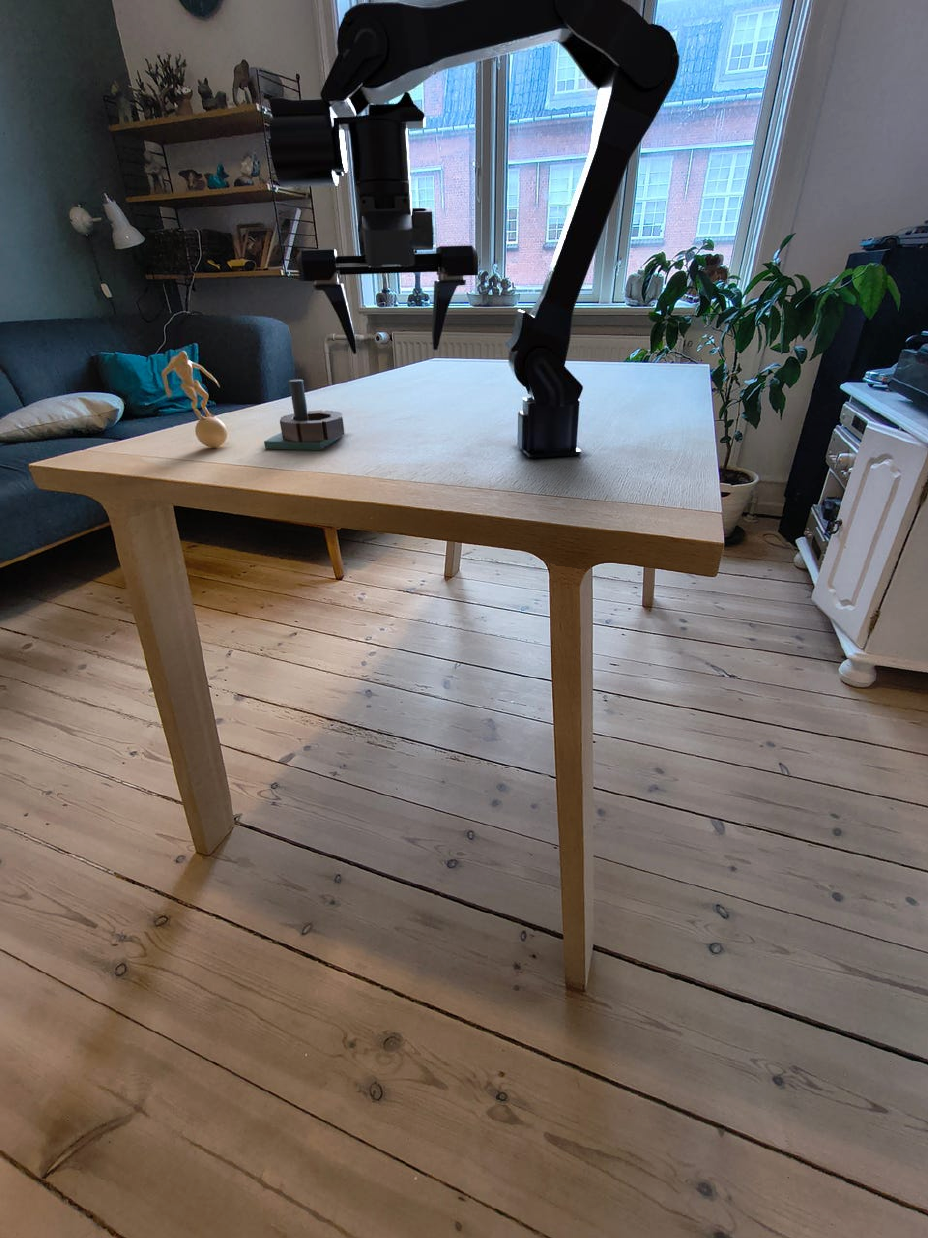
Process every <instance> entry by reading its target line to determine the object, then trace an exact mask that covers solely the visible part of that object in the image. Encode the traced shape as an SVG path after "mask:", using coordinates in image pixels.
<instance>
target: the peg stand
mask: <svg viewBox="0 0 928 1238" xmlns="http://www.w3.org/2000/svg"><path fill="white" fill-rule="evenodd" d="M288 385H289V391H290V399H291V404H292V410H293V414H294V416H295V420H298V421H309V418H308V412H307V411H308V406H307V405H308V404H307V400H306V399H307V398H306V392H305V386H304V380H303V379H290V380H288ZM342 437H343V436H341V437H337V438H334V439H331V440H324V441H317V442H302V441H301V442H294V441H288V440H284V439H283V437H282V432H280V433H278V434H276V435H274V436H271V437H270V438H268V439H266V440H264V441H263V445H264V448H265V450H266V449H267V450H300V451H302V450H303V451H304V450H305V451H322V450H324V449H325V448H327V447H328V446H329V445H331V444H332V443H334V442H336V441H338V440H339V439H341V438H342Z"/></svg>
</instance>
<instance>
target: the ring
mask: <svg viewBox="0 0 928 1238" xmlns="http://www.w3.org/2000/svg"><path fill="white" fill-rule="evenodd" d="M307 412H308V418H309V421H298V420H295V416H294V413H290V414H286V415H283V416H281V417H280V419H279V425H280V432H281V433H282V437H283V439H284V440H288V441H294V442H301V441H302V442H317V441H324V440H331V439H334V438H337V437H341V436H342V437H344V436H345V434H346V433H345V424H344V417H343V416H344V415H343V413H342V412H340V411H334V410H333V411H332V410H309V411H308V410H307ZM342 437H341V438H342Z"/></svg>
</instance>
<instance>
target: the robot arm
mask: <svg viewBox="0 0 928 1238" xmlns="http://www.w3.org/2000/svg"><path fill="white" fill-rule="evenodd" d="M552 43H558V44H559V45H560V46H561V47H562V48H563V49H564V50H565V51H566V52H567V53H568V55H569V56H570V57H571V60H573V62H574V63H575V65H576V67H578V69H579V70H580V71H581V73H582V75H583V76H584V77H585V78H586V80H587V81H588V82H589V83H590V84H591V85H592V86H593V87H594V88H595V89H596V90H597V91H598V94H597V99H596V103H595V104H596V105H595V109H594V114H593V123H592V131H591V140H590V147H589V152H588V155H587V158H586V161H585V164H584V167H583V170H582V172H581V176H580V178H579V182H578V184H577V188H576V191H575V193H574V196H573V198H572V202H571V205H570V207H569V210H568V213H567V217H566V219H565V221H564V225H563V228H562V231H561V234H560V236H559V239H558V242H557V245H556V248H555V250H554V254H553V257H552V259H551V263H550V265H549V268H548V271H547V274H546V276H545V280H544V282H543V285H542V289H541V291H540V294H539V296H538V298H537V300H536V302H535V304H533V307H531V309H530V311H529V312H528V313H527V312H526V311H524V310H521V309H518V310H517V312H516V316H515V321H514V326H513V327H514V328H513V331H512V334H511V336H510V337H509V339H508V340H507V341H506V342H505V346H506V348H507V349H508V350H509V351H508V352H509V353H508V357H507V358H508V366H509V367H510V370H511V372H512V375H514V377H515V379H516V380H517V382H519V383H520V385H521V386H522V387H524V388H525V390H526V393H527V394H528V395H529V396H530V397H522V410H521V411H518V413H517V447H518V448H519V449H520V450H521V451H522V452H523V453H524V455H526V457H527V458H529V459H540V458H553V457H569V456H580V455H582V450H581V449H580V448H579V447H577V446H578V434H579V433H578V432H579V417H580V403H581V400H580V397H581V395H582V392H583V389H584V386H583V384H582V383H581V382H580V381H579V380H578V379H577V378H576V377H575V376H574V374H573V373H572V372H571V371H570V370H569V369H568V368H567V367H566V361H567V357H568V352H569V348H570V343H571V338H572V337H571V335H572V328H573V327H572V326H573V316H574V310H575V306H576V304H577V302H578V299H579V296H580V293H581V291H582V287H583V285H584V282H585V279H586V277H587V275H588V272H589V269H590V266H591V264H592V261H593V258H594V257H595V253H596V250H597V248H598V246H599V243H600V240H601V237H602V234H603V232H604V229H605V226H606V224H607V221H608V218H609V216H610V213H611V211H612V208H613V205H614V202H615V200H616V197H617V194H618V192H619V189H620V187H621V183H622V181H623V178H624V176H625V172H626V170H627V168H628V165H629V162H630V160H631V158H632V156H633V154H634V153H635V151H636V150H637V148H638V146H639V145H640V143H641V142H642V140H643V138H644V137H645V135H646V133H647V132H648V131H649V129H650V127H651V125H652V124H653V122H655V119H656V117H657V115H658V113H659V112H660V109H661V108H662V107H663V104H664V102H665V100H666V98H667V97H668V95H669V93H670V91H671V89H672V87H673V86H674V84H675V81H676V79H677V75H678V71H679V67H680V57H681V56H680V54H679V51H678V47H677V44H676V43H677V42H676V41H675V38H674V37H673V35H672V34H671V32H670V31H669V30H668V29H667V28H665V27H664V26H662V25H659V24H655V23H649V22H648V21H647V20H646V19H645V18H644V17H643V16H642V15H641V14H640V13H639V12H638V11H637V10H636V9H635V8H634V7H633V6H632V5H631V4H629V3H627V2H625V1H624V0H455V1H451V2H447V3H442V4H439V5H436V6H435V5H432V6H429V5H427V6H426V5H425V6H421V5H416V4H410V3H406V2H401V1H365V2H358V3H356V4H354V5H352V6H351V7H349V9H348V10H347V11H346V12H345V13H344V14H343V17H342V21H341V23H340V24H339V28H338V32H337V39H336V46H337V55H336V57H335V59H334V62H333V63H332V66H331V69H330V71H329V72H328V74H327V77H326V79H325V81H324V84H323V86H322V88H321V91H320V93H319V95H320V98H315V99H314V98H313V99H312V98H311V99H310V98H309V99H289V98H286V97H270V98H269V100H268V102H269V109H270V115H269V136H268V139H267V140H268V146H269V153H270V158H271V162H272V167H273V170H274V173H275V177H276V179H277V182H278V184H279V185H280V187H281V188H301V187H302V188H303V187H333V186H334V187H335V186H338V184H339V177H343V176H344V174H346V173H347V172H348V160H347V159H348V157H347V149H346V140H345V132H348V138H349V149H350V158H351V167H352V168H351V169H352V179H353V190H354V198H355V199H354V201H355V210H356V211H355V212H356V221H357V227H356V228H357V238H358V239H357V240H358V248H359V249H358V250H359V254H360V255H338V253H337V250H336V249H335V248H324V249H323V248H322V249H319V248H317V249H301V250H300V251H299V252H298V253H297V255H296V266H297V273H298V279H299V282H314V284H313V285H312V286H313V291H322V292H324V294H325V296H326V298H327V300H328V301H329V302H330V305H331V306H332V308H333V310H334V312H335V313H336V316H337V317H338V320H339V323H340V325H341V327H342V330H343V333H344V335H345V337H346V340H347V342H348V345H349V347H350V351H351V352H352V354H353V355H357V353H358V352H357V343H356V336H355V330H354V327H353V322H352V317H351V313H350V309H349V304H348V299H347V295H346V290H345V286H344V283H340V279H341V278H342V277H341V276H350V275H383V274H410V273H411V274H413V273H414V274H415V273H417V274H418V273H436V276H437V279H438V280H434V281H433V303H432V304H433V305H432V306H433V307H432V325H431V326H432V331H431V338H432V349H433V351H438V349H439V345H440V340H441V336H442V332H443V329H444V325H445V321H446V317H447V312H448V309H449V308H450V307H449V306H450V304H451V301H452V299H453V296H454V294H455V291H456V290H457V288H458V287H460V286H466V284H467V279H464V277H466V276H470V277H471V276H479V255H478V251H477V249H476V248H475V247H474V246H473V244H468V245H464V244H463V245H439V246H437V247H435V252H433V253H432V252H431V253H418V251H431V250H432V251H433V250H434V219H433V210H432V207H429V206H428V207H427V206H426V207H425V206H423V207H412V191H411V189H412V187H411V175H410V173H411V171H410V157H409V140H408V139H409V138H408V130H419V129H420V130H421V129H425V127H426V123H427V122H426V117H425V113H424V111H423V110H421V108H420V107H418V106H417V104H416V103H415V102H414V100H413V99H412V97H411V94H410V91H412V90H414V89H415V88H417V87H418V86H419V85H421V84H423V83H424V82H425V81H427V80H428V79H430V78H431V77H433V76H434V75H437V74H438V73H440V72H443V71H445V70H449V69H453V68H457V67H460V66H465V65H468V64H472V63H477V62H480V61H485V60H488V59H492V58H497V57H500V56H504V55H508V54H513V53H516V52H520V51H524V50H528V49H531V48H537V47H540V46H544V45H547V44H552ZM400 96H402V97H401V98H400V100H399V101H397V103H388V102H390V101H392V100H394V99H396V98H398V97H400ZM367 108H368V114H364V115H361V114H363V112H364V111H365V110H366V109H367Z"/></svg>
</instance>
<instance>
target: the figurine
mask: <svg viewBox="0 0 928 1238" xmlns="http://www.w3.org/2000/svg"><path fill="white" fill-rule="evenodd" d="M194 368H195V369H197V370H200V371H201V372H202V373H203V374H205V376H206V377H208V378H209V379H210V380H212V381H213V382H214V383H215V384H216V385H217V387H218V388H221V386H220V384H219V382H218V380H216V378H215V377H214V376H213V375H212V374H211V373H210V372H209V371H207V370H206V369H205V368H204V367H203V366H202V365H200V364H199V363H197V362H193V361H191V360H190V359H189V356H188V354H187V352H186V351H185V350H181V351H180V352H179V353H178V354H176V355H174V356H172V357H171V359H170V362H169V363H168V364H167V366H166V367H165V368H164V369H163V370H162V371H161V378H162V381H163V385H164V391H165V393H166V396H167V397H173V390H171V389H170V388H169V382H168V377H167V375H168V374H170V373H171V372H172V371H174V372H175V373H176V375H177V376H178V377H179V379H181V384H180V388H181V390H182V391H184V393H185V394H186V396H187V397H188V398H190V399H191V400H192V401H191V402H190V406H191V408H192V410H193V412H194V413H195V415H196V416H197V417H198V422H196V425H195V427H194V428H195V429H194V430H195V431H194V432H195V436H196V438H197V440H198V441H199V442H200V443H201V444H202V445H203V446H205V447H208V448H218V447H221V446H222V445H224V444H225V442H226V440H227V439H228V429H227V426H226V425H225V423H224V422H223V421H222V420H220V419H219V418H218V417H215V415H214V414H212V413H210V412H209V410H208V409H207V407H206V405H207V404H208V400H209V392H207V391H206V390H205V389H204V388H203V387H202V385H201V383H200V382H199V380H198V379H195V380H194V377H193V376H194V374H193V371H194ZM198 395H199V396H201V397H202V398H203V399H201V401H200V405H201V409H202V411H203V413H204V414H205V415H206V416H204V415H202V413H201V412H200V411H199V409H198V408H197V406H198Z"/></svg>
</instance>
